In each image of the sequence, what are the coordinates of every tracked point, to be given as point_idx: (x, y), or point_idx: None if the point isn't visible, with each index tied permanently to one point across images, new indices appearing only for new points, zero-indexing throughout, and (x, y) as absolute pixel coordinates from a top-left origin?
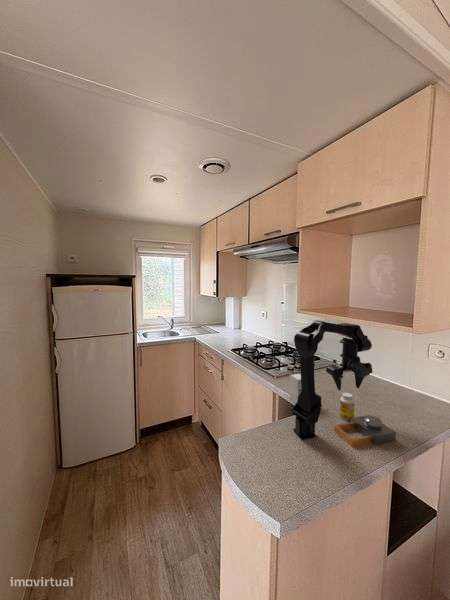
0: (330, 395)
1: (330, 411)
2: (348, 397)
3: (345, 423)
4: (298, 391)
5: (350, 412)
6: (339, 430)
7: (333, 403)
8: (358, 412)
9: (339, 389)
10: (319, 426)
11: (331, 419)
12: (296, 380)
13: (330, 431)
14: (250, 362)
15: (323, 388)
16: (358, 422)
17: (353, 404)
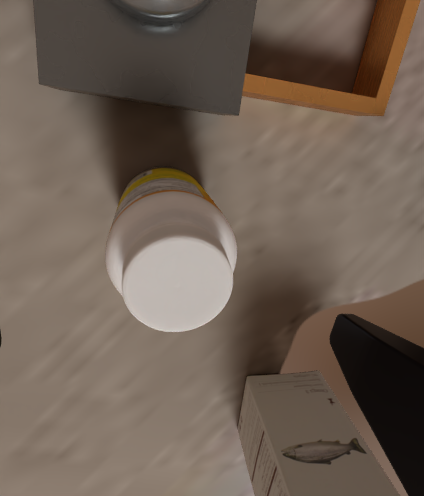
0: (68, 427)
1: None
2: (209, 240)
3: (305, 98)
4: (360, 439)
5: (182, 178)
6: (396, 56)
7: (119, 354)
8: (31, 231)
9: (363, 321)
10: (381, 184)
11: (269, 219)
12: None
13: (374, 121)
14: None
15: (52, 490)
16: (242, 32)
17: (157, 190)
